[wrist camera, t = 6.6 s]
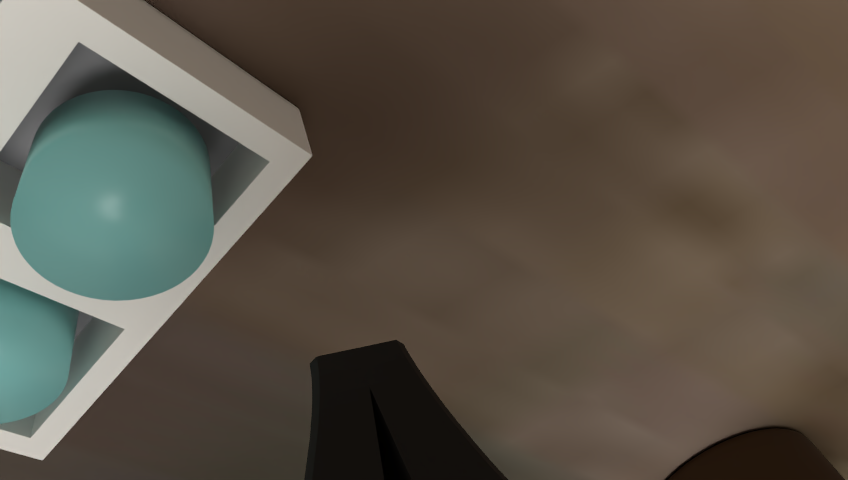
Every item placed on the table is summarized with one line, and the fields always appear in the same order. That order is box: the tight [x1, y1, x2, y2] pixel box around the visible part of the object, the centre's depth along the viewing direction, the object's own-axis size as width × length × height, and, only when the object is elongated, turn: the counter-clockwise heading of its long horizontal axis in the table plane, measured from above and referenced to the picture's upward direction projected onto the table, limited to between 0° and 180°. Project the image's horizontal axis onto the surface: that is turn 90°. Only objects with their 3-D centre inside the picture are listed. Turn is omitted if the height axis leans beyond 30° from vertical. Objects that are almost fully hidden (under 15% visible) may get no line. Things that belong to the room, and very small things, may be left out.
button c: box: [10, 90, 214, 301], centre depth 16 cm, size 4×4×2 cm
